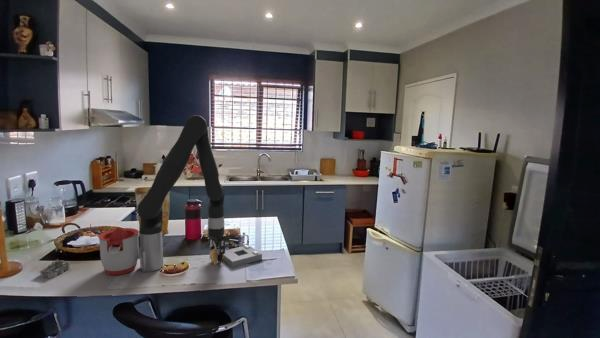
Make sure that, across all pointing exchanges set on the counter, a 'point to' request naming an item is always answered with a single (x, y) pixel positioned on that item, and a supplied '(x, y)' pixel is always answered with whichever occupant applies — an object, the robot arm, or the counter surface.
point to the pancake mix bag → (142, 192)
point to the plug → (214, 256)
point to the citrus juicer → (119, 250)
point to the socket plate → (241, 256)
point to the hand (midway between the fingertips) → (216, 258)
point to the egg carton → (51, 270)
